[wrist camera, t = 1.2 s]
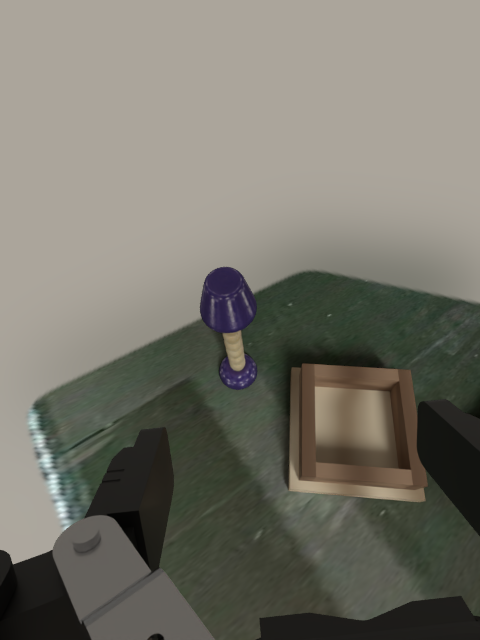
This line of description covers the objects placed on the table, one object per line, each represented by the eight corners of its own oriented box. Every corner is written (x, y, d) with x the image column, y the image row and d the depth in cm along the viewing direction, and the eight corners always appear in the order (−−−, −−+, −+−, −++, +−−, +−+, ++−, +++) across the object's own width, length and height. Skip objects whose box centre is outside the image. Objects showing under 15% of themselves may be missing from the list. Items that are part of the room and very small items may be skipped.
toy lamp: (208, 380, 42) (182, 297, 27) (225, 344, 44) (209, 250, 29) (249, 395, 41) (244, 317, 26) (264, 358, 43) (267, 266, 28)
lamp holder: (402, 379, 41) (417, 362, 37) (419, 502, 35) (439, 497, 31) (290, 372, 42) (294, 355, 38) (288, 490, 36) (292, 485, 32)
